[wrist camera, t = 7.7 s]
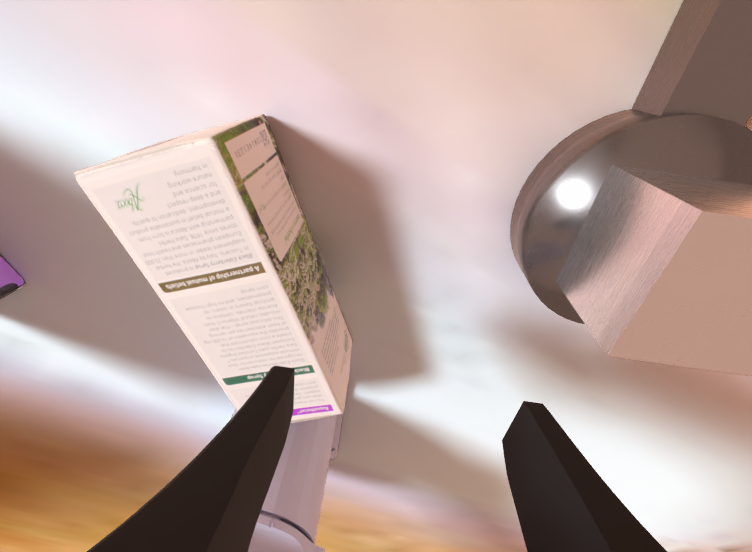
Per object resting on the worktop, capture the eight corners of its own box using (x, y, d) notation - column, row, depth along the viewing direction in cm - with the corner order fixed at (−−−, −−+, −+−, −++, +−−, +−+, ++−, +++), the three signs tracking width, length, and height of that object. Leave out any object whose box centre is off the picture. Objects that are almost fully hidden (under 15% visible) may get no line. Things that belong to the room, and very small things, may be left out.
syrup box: (62, 174, 12) (243, 431, 20) (216, 131, 11) (346, 419, 19) (157, 140, 17) (273, 356, 24) (270, 108, 16) (356, 344, 23)
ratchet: (655, 310, 21) (741, 395, 15) (485, 284, 20) (514, 362, 15) (1069, -279, 10) (1827, -657, 5) (717, -350, 10) (1097, -834, 4)
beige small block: (669, 297, 17) (757, 376, 13) (555, 281, 17) (607, 356, 13) (748, 184, 14) (896, 239, 10) (611, 164, 14) (702, 210, 10)
